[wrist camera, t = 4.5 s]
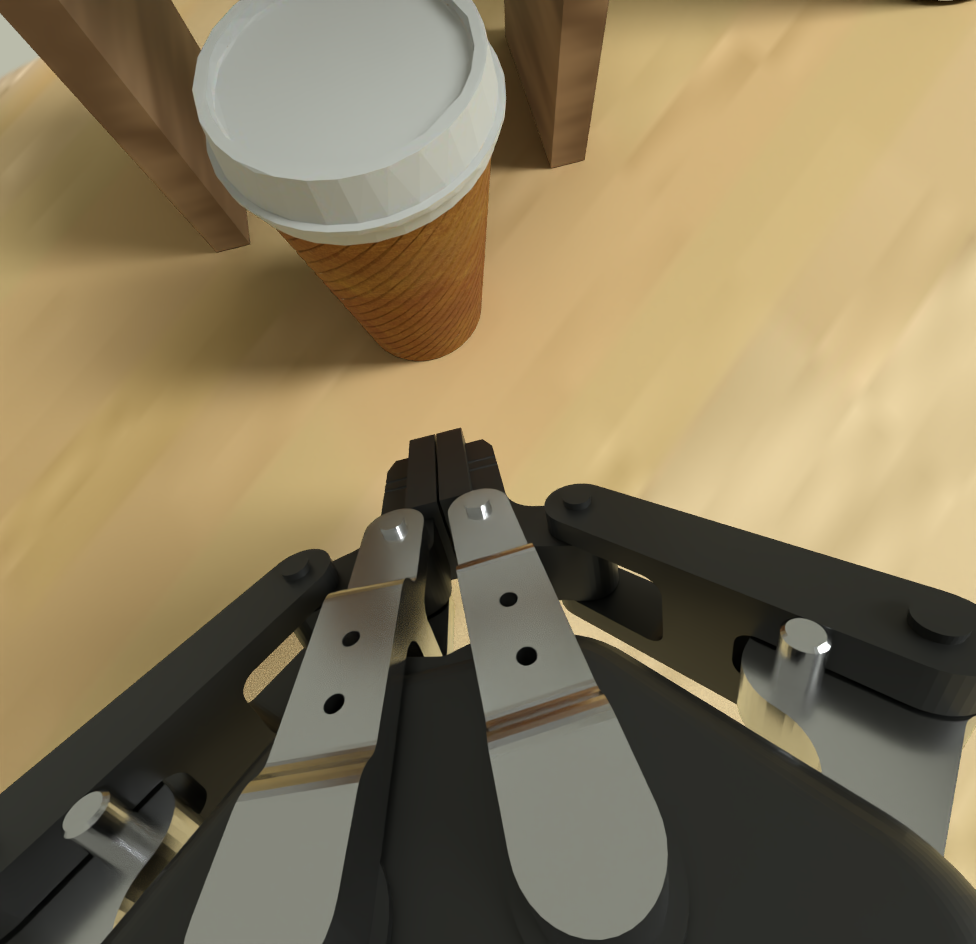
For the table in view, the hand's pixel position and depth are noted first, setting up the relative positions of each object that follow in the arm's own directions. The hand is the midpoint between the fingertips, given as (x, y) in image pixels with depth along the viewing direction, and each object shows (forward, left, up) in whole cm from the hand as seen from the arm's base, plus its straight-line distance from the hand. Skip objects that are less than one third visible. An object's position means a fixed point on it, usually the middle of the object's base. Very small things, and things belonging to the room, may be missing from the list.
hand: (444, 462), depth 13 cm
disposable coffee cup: (0, -11, -9) cm, 15 cm away
